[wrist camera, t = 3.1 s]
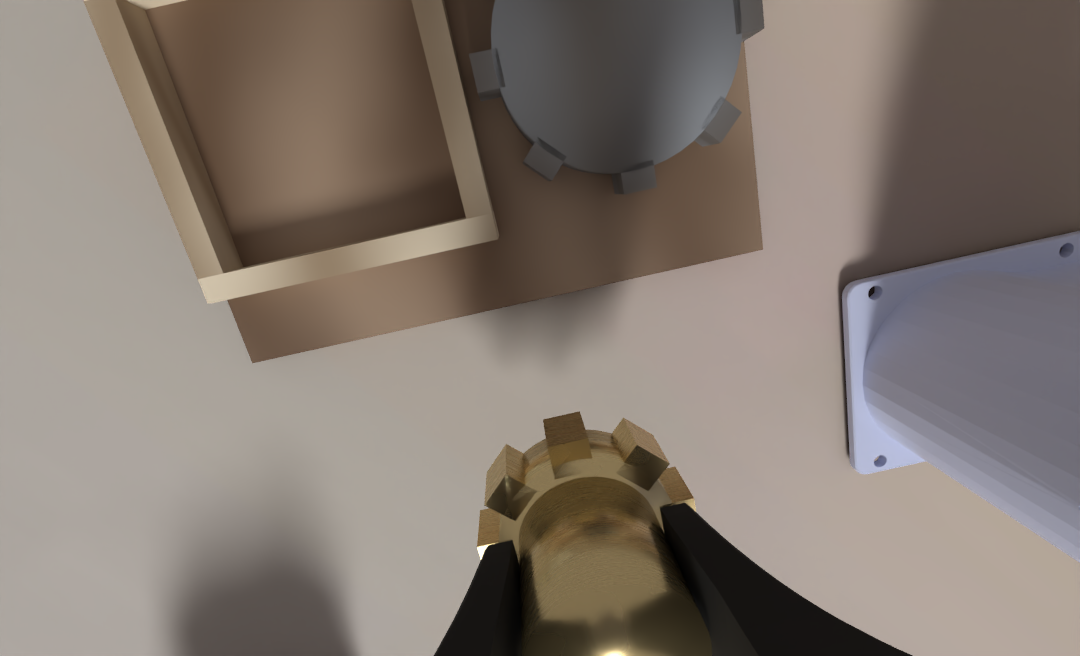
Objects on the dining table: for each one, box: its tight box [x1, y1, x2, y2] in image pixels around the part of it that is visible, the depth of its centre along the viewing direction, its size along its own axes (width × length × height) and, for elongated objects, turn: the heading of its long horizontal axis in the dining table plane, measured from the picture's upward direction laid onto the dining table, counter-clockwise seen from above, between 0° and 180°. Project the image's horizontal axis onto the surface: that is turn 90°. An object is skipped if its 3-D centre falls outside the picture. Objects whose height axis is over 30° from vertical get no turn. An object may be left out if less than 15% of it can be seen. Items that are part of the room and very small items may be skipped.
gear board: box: [83, 0, 764, 363], centre depth 15 cm, size 18×14×2 cm
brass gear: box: [477, 412, 712, 656], centre depth 12 cm, size 6×6×5 cm
